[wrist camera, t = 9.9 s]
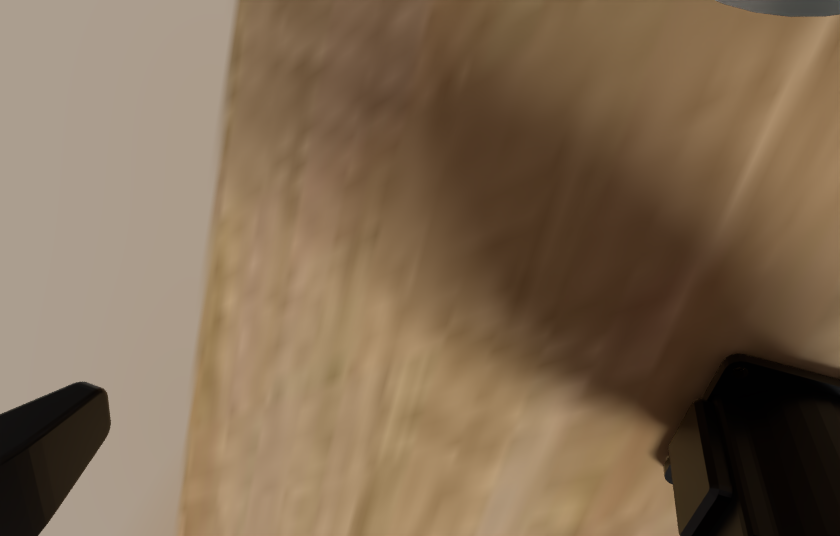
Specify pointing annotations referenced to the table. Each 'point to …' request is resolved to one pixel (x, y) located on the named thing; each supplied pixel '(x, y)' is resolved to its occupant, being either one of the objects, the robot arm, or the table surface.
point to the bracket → (788, 7)
